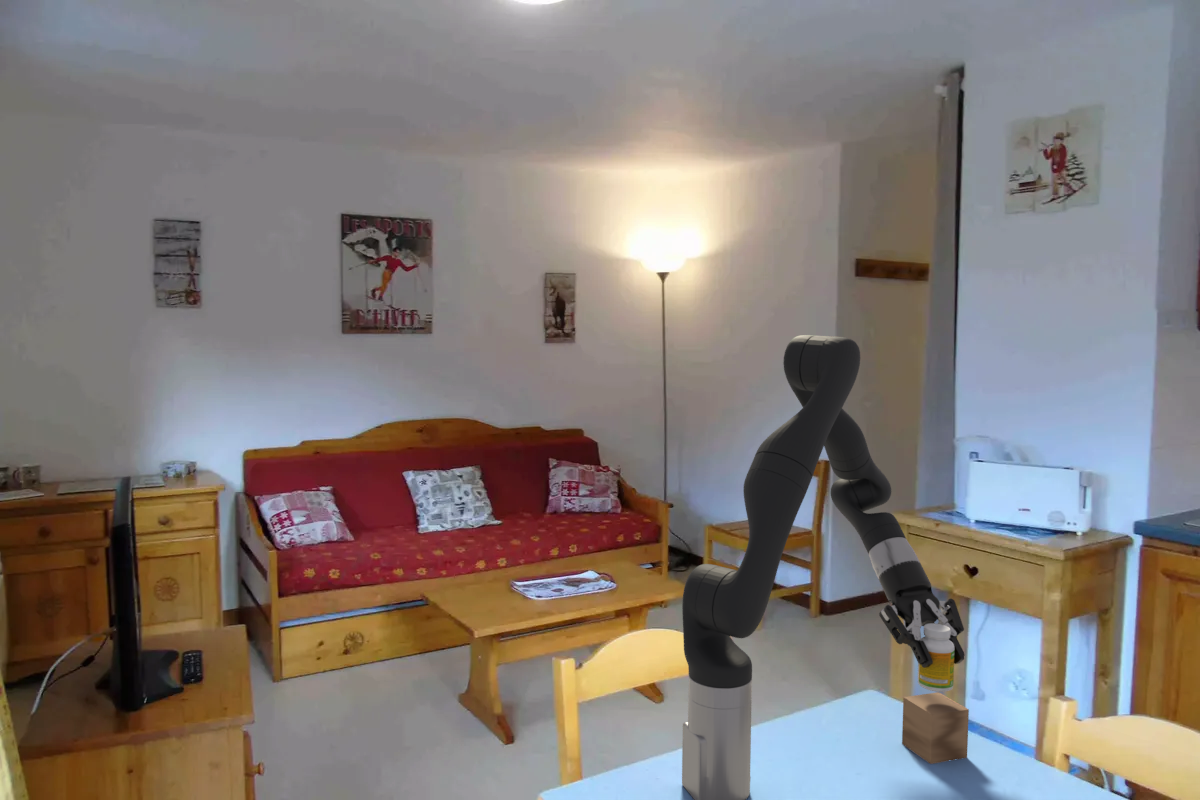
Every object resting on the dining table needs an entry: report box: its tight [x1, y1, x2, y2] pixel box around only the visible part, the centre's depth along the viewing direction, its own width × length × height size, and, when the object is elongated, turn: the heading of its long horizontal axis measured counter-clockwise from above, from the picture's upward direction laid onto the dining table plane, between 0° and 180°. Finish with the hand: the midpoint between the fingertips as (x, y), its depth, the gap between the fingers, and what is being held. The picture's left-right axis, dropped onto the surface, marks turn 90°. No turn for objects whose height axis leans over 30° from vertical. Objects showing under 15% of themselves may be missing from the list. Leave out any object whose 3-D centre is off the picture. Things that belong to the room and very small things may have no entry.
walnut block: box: [901, 691, 970, 765], centre depth 137 cm, size 7×7×8 cm
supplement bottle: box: [917, 622, 955, 693], centre depth 136 cm, size 5×5×10 cm
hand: (944, 663), depth 134 cm, fingers closed on supplement bottle, 5 cm apart
